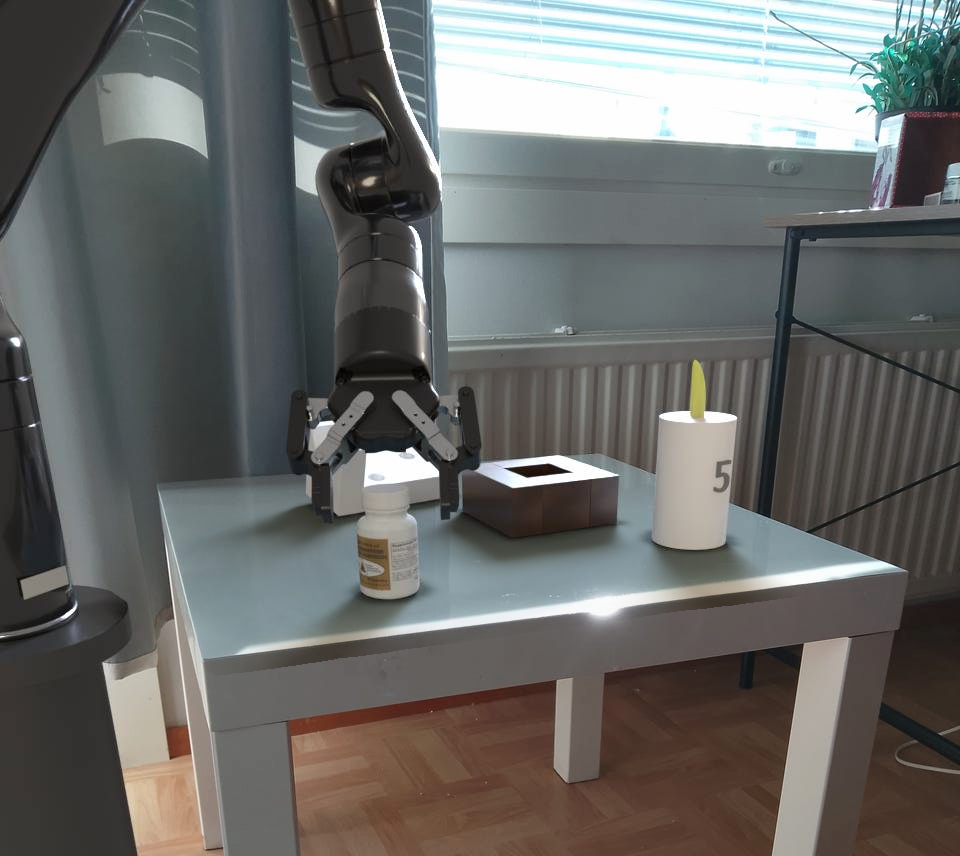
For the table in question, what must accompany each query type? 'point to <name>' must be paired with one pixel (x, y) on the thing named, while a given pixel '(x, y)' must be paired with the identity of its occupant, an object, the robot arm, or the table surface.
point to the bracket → (376, 474)
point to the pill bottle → (387, 543)
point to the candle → (693, 473)
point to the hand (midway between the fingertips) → (386, 516)
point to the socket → (540, 495)
